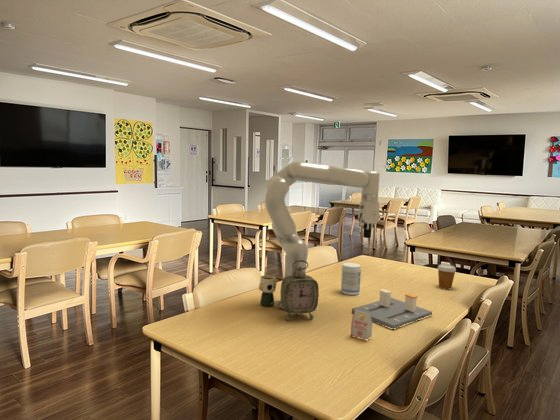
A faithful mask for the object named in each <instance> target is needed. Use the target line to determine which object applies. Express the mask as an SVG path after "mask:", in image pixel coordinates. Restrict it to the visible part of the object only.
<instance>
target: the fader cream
mask: <svg viewBox="0 0 560 420" xmlns="http://www.w3.org/2000/svg"><path fill="white" fill-rule="evenodd" d="M391 294H392V291H391V290H387V289H385V288H383V289H380V290H379V300H378V301H379V305H381V306H384V307H389V306H390V298H391V296H392V295H391Z"/></svg>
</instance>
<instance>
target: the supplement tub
mask: <svg viewBox="0 0 560 420" xmlns="http://www.w3.org/2000/svg"><path fill="white" fill-rule="evenodd" d="M361 267H362V266H361V264H359V263H355V262H344V263H342V266H341V282H340V291H341V293H342V294H344V295H346V296H347V295H348V296H355V295H359V294H360V290H361V289H360V288H361V274H362V272H361V271H362V270H361V269H362V268H361Z"/></svg>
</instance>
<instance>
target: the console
mask: <svg viewBox="0 0 560 420" xmlns="http://www.w3.org/2000/svg"><path fill="white" fill-rule="evenodd" d="M354 310H358V311H362V312H365V313H369V314H371V319H372V321H373V322H372V323H375V322H376V323H375V324H377V323H379V324H381V325H380V326H382V325H384V326H387V327H390V328H393V329H394V328H397V327H399V326H402V325H404V324H407V323H410V322H413V321H416V320H418V319H421V318H424V317H426V316H429V315H432V316H433V311H432V310H431V311H430V310H428V309H425V308H422V307H419V306H417V305H416V311H414V312H411V311H408V310H405V301H402V300H401V299H400V300H399V299H396V298H393V297H390V306H389V307H384V306H381V305H379V300H378V301H374V302H370V303H367V304H363V305H361V306H357V307H353V308H351V314H353V315H354ZM379 324H378V325H379ZM384 326H383V327H384ZM387 327H386V328H387Z"/></svg>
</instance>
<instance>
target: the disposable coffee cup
mask: <svg viewBox="0 0 560 420" xmlns="http://www.w3.org/2000/svg"><path fill="white" fill-rule="evenodd" d="M437 270H438V271H437V272H438V288H440V287H441V288H440V289H442V288H446V289H445V290H449V289H448V288H451V289H452V286H453V283H454V279H455V274H456V272H457V269H456V267H455V266H454V265H451V264H443V263H442V264H438V266H437Z"/></svg>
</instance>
